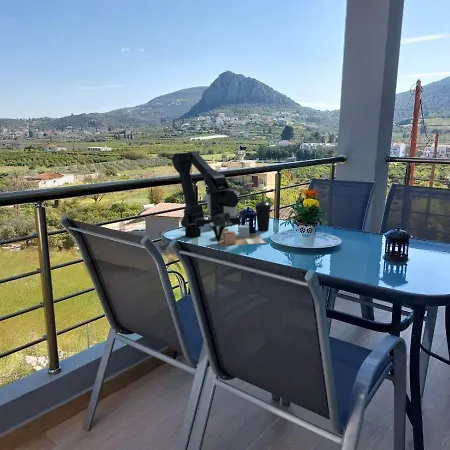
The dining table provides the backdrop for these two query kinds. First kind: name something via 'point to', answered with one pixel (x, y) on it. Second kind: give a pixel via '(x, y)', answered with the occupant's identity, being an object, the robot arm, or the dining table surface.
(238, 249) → the dining table surface
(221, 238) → the sage block
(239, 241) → the board
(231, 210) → the canister
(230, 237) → the terracotta block
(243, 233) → the slate block
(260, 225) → the drinking cup
